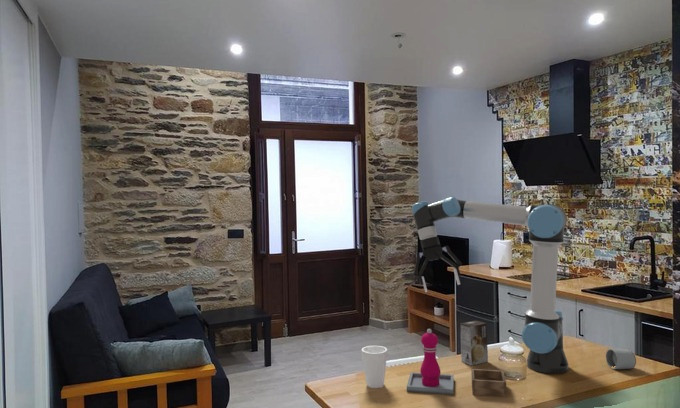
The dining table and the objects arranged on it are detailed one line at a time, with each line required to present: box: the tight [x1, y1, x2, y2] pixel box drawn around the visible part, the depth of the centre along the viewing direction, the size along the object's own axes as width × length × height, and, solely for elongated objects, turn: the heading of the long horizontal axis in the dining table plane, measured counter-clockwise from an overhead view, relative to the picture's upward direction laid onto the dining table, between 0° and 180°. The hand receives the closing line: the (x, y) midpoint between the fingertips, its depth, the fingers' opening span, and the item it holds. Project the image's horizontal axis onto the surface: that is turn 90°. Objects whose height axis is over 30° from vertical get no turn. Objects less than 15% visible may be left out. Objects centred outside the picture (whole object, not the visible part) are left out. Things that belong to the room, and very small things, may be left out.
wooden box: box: [471, 368, 507, 398], centre depth 166 cm, size 11×11×5 cm
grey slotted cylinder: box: [605, 348, 637, 370], centre depth 184 cm, size 11×8×8 cm
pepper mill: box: [419, 328, 442, 387], centre depth 171 cm, size 7×7×20 cm
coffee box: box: [459, 320, 489, 366], centre depth 194 cm, size 9×6×16 cm
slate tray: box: [406, 372, 455, 396], centre depth 171 cm, size 16×14×2 cm
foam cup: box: [361, 345, 388, 389], centre depth 172 cm, size 10×9×13 cm
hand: (442, 288), depth 191 cm, fingers open, 13 cm apart
